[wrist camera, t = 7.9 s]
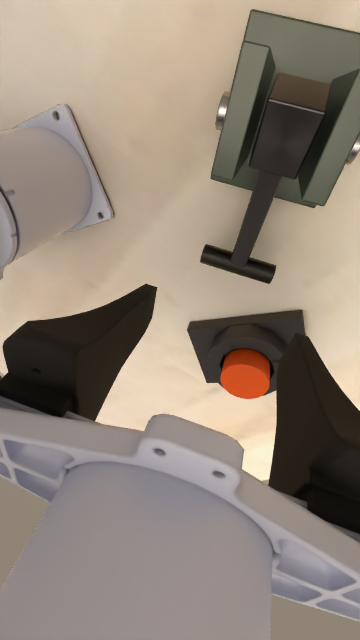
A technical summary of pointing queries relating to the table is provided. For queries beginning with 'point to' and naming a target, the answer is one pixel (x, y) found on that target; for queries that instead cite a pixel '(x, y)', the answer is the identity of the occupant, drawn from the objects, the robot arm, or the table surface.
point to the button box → (244, 340)
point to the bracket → (254, 89)
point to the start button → (246, 373)
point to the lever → (274, 165)
